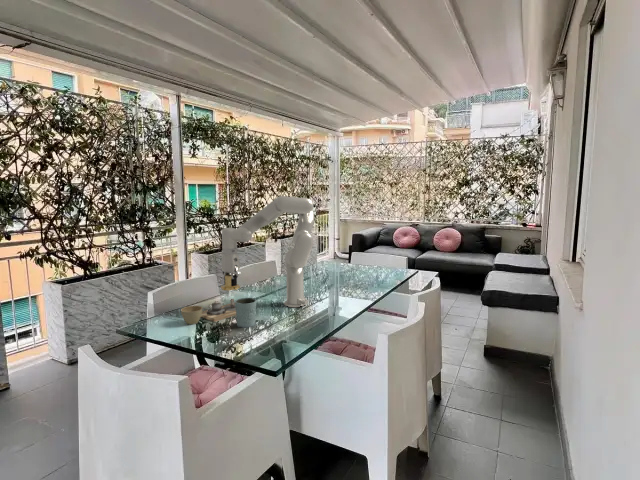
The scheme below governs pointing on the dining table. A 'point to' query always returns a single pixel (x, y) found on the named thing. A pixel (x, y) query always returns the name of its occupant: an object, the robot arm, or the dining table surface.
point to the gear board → (220, 311)
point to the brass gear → (229, 284)
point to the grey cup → (245, 312)
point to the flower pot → (191, 314)
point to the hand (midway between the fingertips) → (230, 284)
